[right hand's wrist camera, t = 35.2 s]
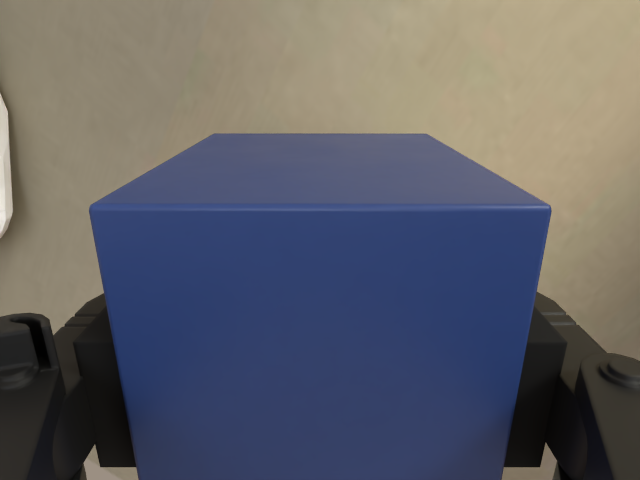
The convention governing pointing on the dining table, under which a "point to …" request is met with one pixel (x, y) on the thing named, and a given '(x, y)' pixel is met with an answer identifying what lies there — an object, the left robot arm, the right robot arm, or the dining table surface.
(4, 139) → the skull
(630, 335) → the dining table surface
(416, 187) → the brick
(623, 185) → the dining table surface
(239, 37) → the dining table surface
